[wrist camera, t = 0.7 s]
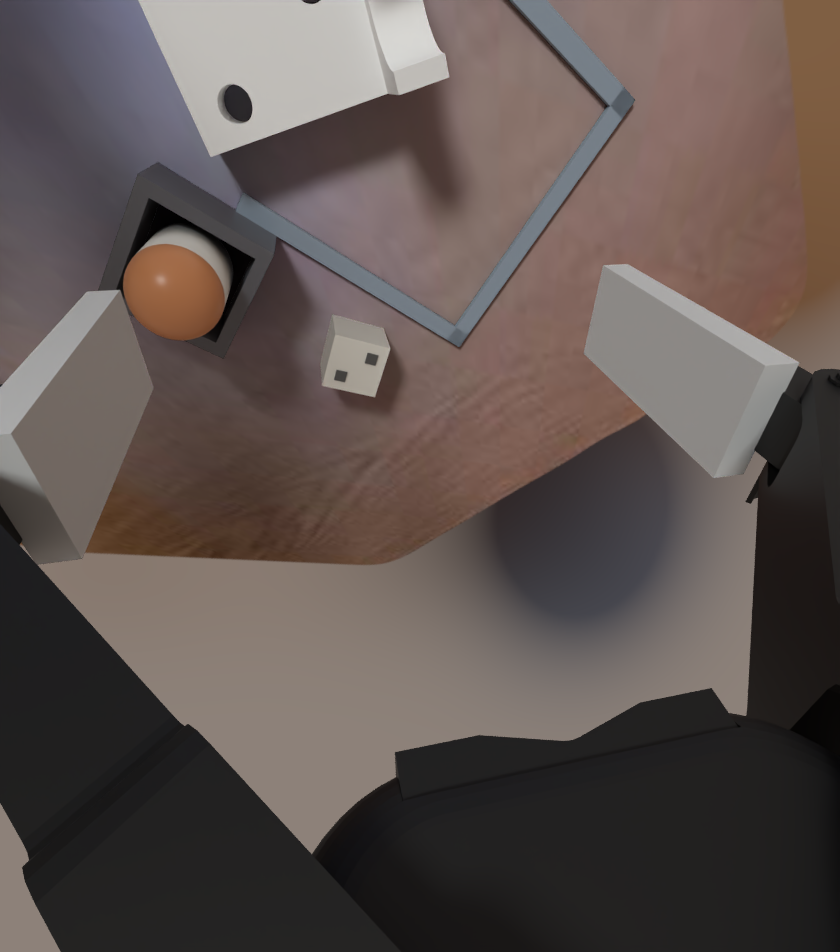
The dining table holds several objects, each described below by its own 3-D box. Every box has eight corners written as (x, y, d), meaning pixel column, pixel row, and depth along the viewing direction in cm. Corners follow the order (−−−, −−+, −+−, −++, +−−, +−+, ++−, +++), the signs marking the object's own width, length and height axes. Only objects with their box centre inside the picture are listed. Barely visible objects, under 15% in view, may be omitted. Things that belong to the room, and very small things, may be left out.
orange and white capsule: (134, 280, 32) (98, 326, 26) (162, 204, 30) (129, 235, 24) (215, 321, 34) (198, 370, 28) (246, 253, 32) (235, 291, 26)
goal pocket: (235, 209, 33) (235, 211, 33) (397, -163, 25) (399, -167, 25) (457, 345, 42) (459, 347, 41) (632, 99, 34) (635, 100, 33)
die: (320, 362, 41) (322, 386, 37) (332, 313, 38) (335, 334, 35) (369, 373, 42) (374, 397, 39) (383, 327, 40) (390, 349, 37)
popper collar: (118, 274, 34) (95, 298, 30) (157, 162, 31) (137, 174, 27) (230, 330, 38) (223, 358, 34) (276, 234, 35) (274, 254, 31)
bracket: (384, -89, 27) (409, -137, 21) (420, 78, 31) (449, 77, 25) (149, -3, 27) (108, -26, 21) (218, 150, 31) (200, 166, 26)
